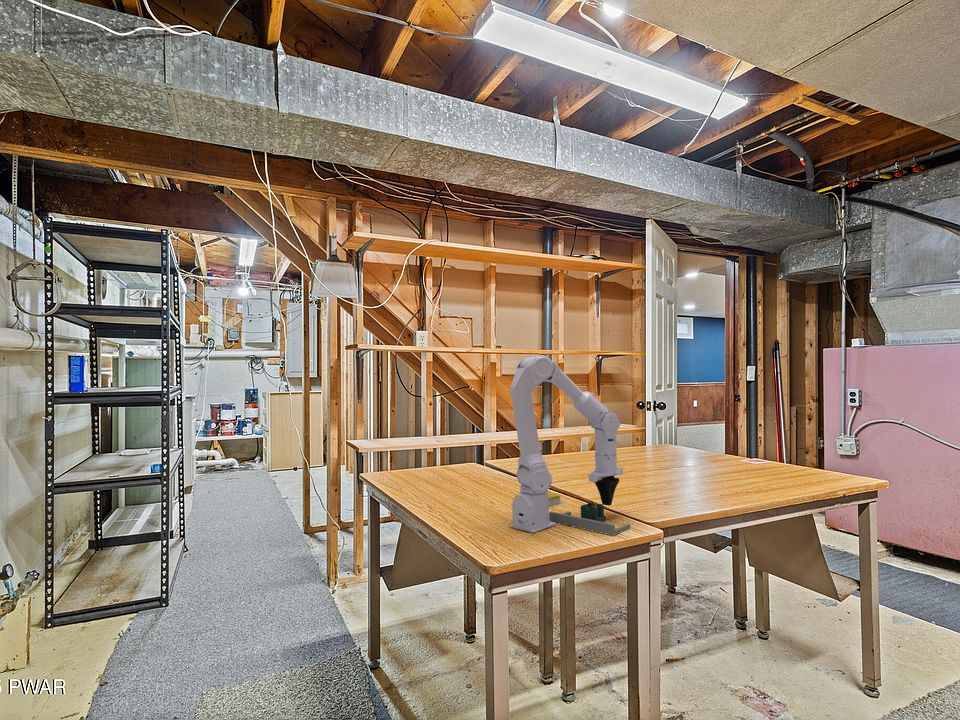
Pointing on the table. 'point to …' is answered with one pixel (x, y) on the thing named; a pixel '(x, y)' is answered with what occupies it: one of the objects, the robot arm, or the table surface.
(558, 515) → the u-shaped gray bracket
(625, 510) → the table surface
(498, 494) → the table surface
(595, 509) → the mount
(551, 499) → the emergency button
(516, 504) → the robot arm
